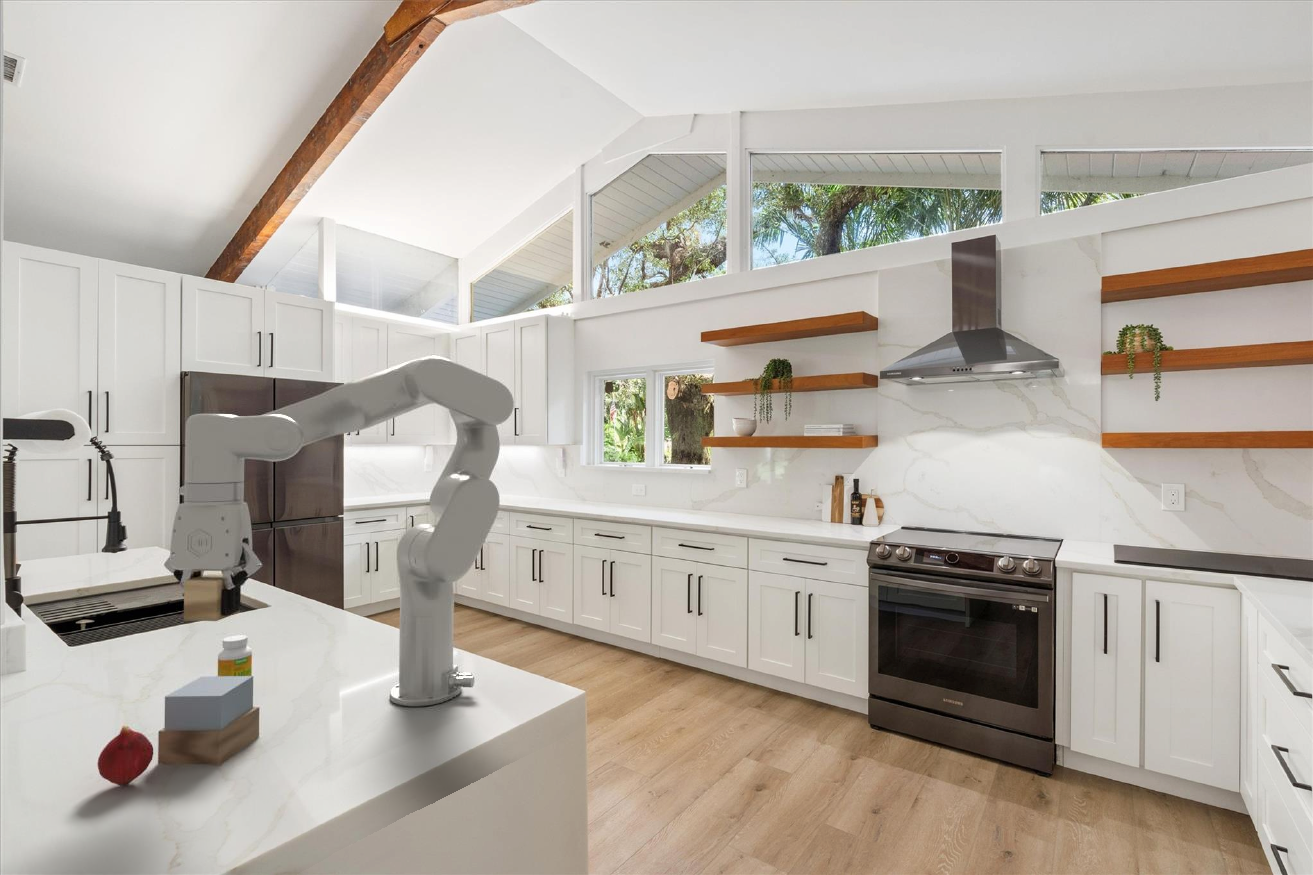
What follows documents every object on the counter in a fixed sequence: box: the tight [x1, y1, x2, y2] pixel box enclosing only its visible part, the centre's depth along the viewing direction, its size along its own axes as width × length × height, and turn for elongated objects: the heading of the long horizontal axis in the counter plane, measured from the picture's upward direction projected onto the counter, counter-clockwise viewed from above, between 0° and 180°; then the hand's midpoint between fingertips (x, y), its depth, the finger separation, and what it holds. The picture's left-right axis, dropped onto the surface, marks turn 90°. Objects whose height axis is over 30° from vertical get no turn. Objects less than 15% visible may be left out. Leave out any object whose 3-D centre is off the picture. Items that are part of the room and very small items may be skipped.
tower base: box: [157, 706, 260, 767], centre depth 97 cm, size 9×9×5 cm
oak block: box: [183, 573, 241, 622], centre depth 98 cm, size 5×5×6 cm
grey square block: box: [164, 675, 254, 731], centre depth 97 cm, size 8×8×5 cm
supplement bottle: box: [217, 634, 253, 676], centre depth 121 cm, size 5×5×10 cm
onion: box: [97, 725, 154, 787], centre depth 87 cm, size 6×6×8 cm
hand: (212, 611), depth 98 cm, fingers closed on oak block, 5 cm apart
